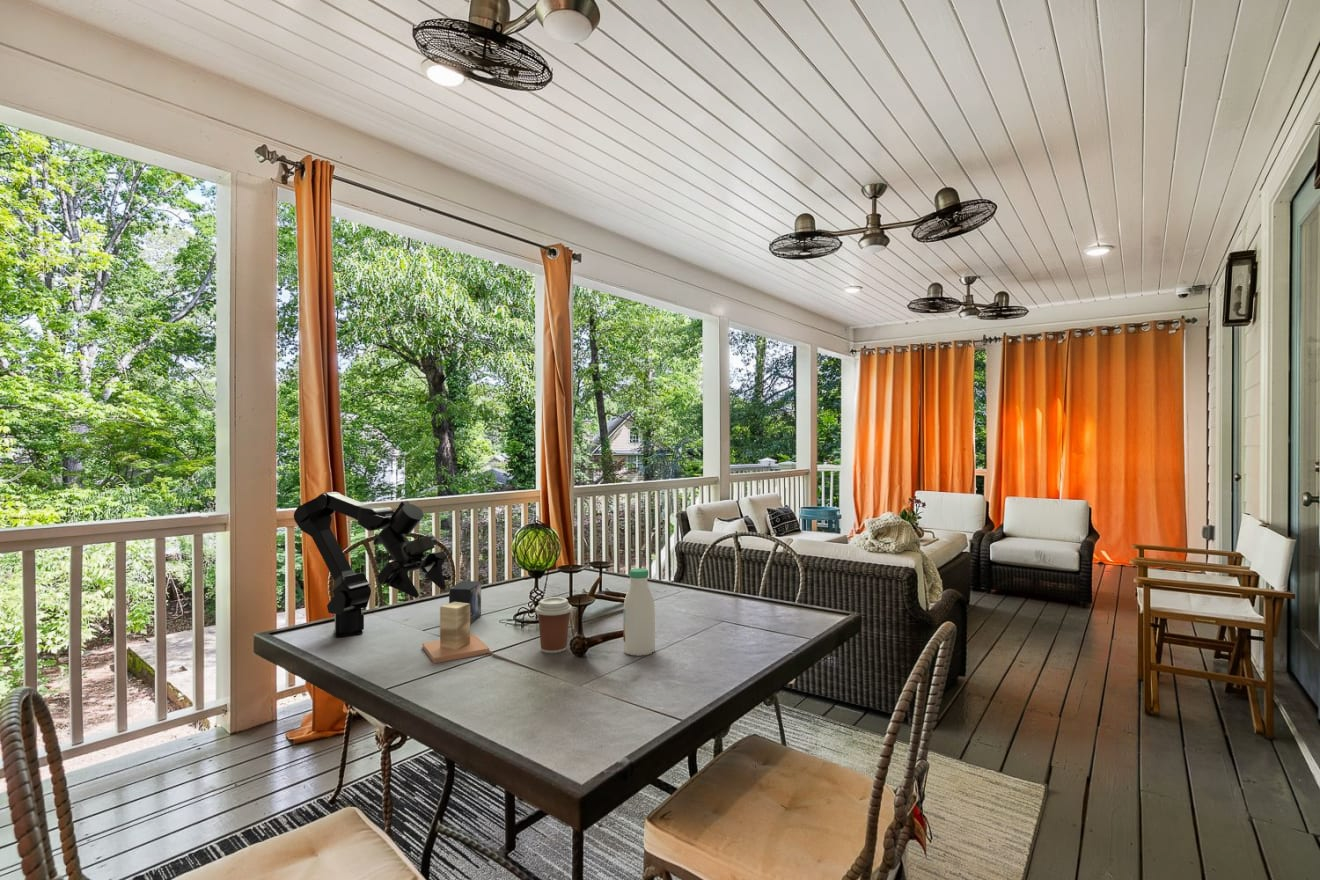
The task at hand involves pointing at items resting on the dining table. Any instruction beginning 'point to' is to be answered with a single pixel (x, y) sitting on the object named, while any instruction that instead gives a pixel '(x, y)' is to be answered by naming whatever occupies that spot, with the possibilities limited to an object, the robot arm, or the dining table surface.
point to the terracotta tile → (446, 654)
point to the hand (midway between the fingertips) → (431, 592)
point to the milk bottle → (639, 616)
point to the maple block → (454, 625)
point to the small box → (468, 596)
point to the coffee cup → (553, 623)
